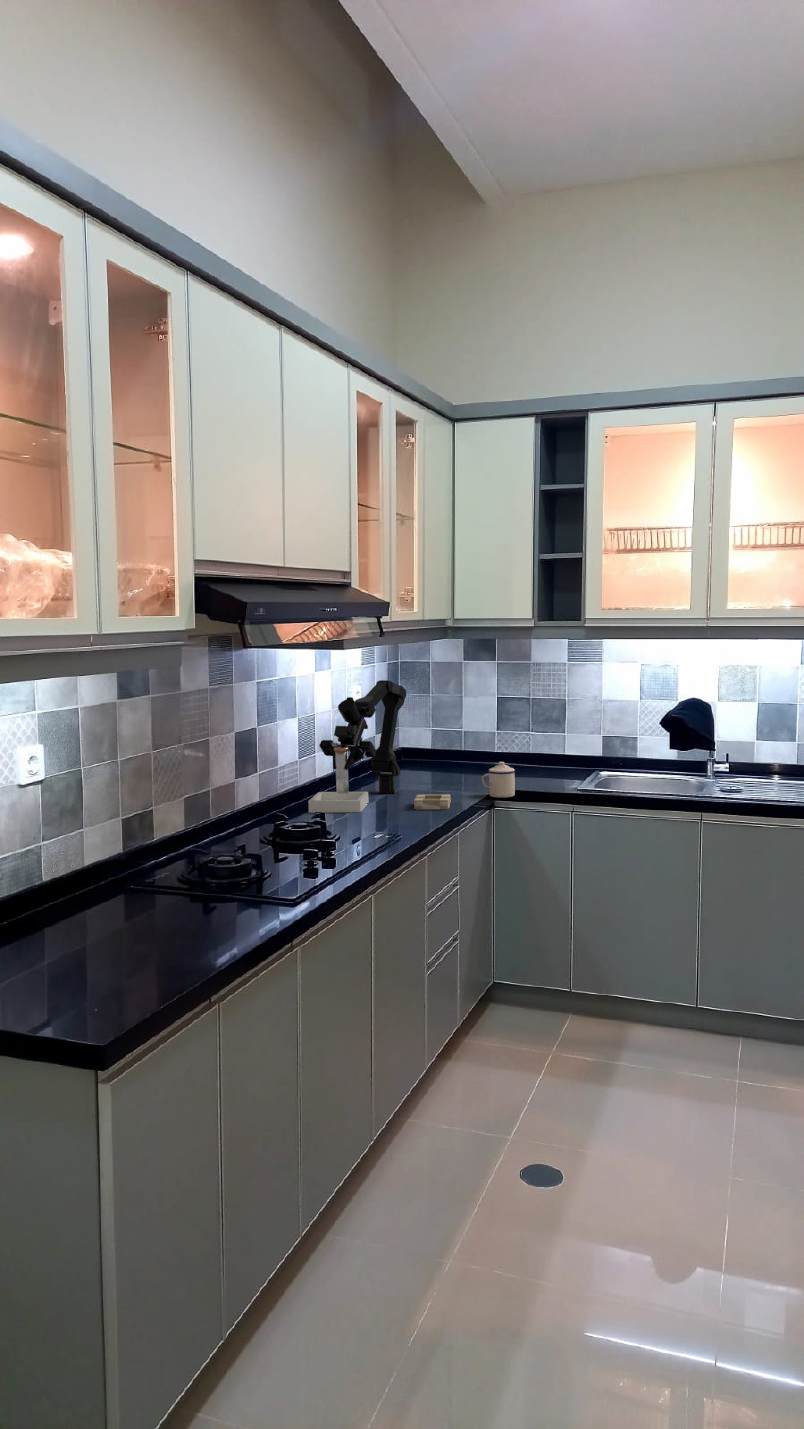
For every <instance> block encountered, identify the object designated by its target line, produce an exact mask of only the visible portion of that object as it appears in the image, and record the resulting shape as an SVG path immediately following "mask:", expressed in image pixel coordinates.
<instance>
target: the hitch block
mask: <svg viewBox="0 0 804 1429" xmlns="http://www.w3.org/2000/svg"><path fill="white" fill-rule="evenodd" d="M413 801H414V802H413V804H414V806H413V807H414V808H413V809H416V811H417V810H449V808H450V807H451V806H450V805H451V804H450V803H451V794H449V793H444V794H439V793H438V794H436V793H435V794H426V793H425V794H417V795H416V796H415V798H414V800H413Z"/></svg>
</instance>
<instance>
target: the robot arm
mask: <svg viewBox="0 0 804 1429" xmlns="http://www.w3.org/2000/svg"><path fill="white" fill-rule="evenodd" d="M406 697H407V690H406V688H404V687H403V685H400V684H397V683H394V682H393V681H391V680H387V679H386V680H384V679H381V680H377V681H376V684H375V685H374V686H373V687H372V688H371V689H370V691H368V693H367V694H366V695H365V696H363V697H359V698H357V699H356V700H354V698H353V697H351V696H348V697H346V699H344V700H342V701H341V702H340V703H339V704H338V706H337V710H338V712H339V713H340V715H341V717H342V719H343V720H344V722H346V723H347V725H335V729H334V733H333V736H335V737H337V741H338V742H334V740H332V739H322V740H321V741H320V742H319V745H318V746H319V748H320V750H321V751H322V752H323V755H324V756H326V757H332V769H333V770H336V762H335V751H334V747H341V746H345V747H348V749H349V750H348V751H347V752H349V755H348V760H347V762H346V765H345V769H346V770H347V769H348V770H349V769H350V768H351V767H352V766H354V765H355V764H356V763H358V762H359V761H360V760H364V758H365V757H366V758H371V760H370V767H371V772H372V776H376V777H378V778H377V779H378V780H377V781H378V790H377V791H376V794H395V793H396V792H397V791H398V790H397V789H396V787H395V783H396V782H395V777H399V776H400V774H401V768H400V766H399V764H398V762H397V761H396V759H397V757H396V754H395V751H394V748H393V747H394V743H395V742H394V741H395V735H396V727H397V722H398V716H399V715H398V714H399V710H401V708H402V707H403V706H404V704H405V700H406ZM380 702H382V704H383V706H384V713H383V719H382V727H381V732H380V738H379V746H378V747H377V748H375V746H374V744H373V742H372V741H371V740H364V739H363V737H362V736H363V733H364V730H368V729H369V726H368V723H367V720H366V719H368V718H369V719H370V718H372V717H373V716H374V715H375V713H376V712H377V710H376V707H377V705H378V704H379V703H380ZM365 718H366V719H365ZM364 755H365V756H364Z"/></svg>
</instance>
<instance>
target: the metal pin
mask: <svg viewBox="0 0 804 1429" xmlns="http://www.w3.org/2000/svg"><path fill="white" fill-rule="evenodd" d="M348 750H349V749H348V747H345V746H341V747H334V751H335V762H336V769H335V782H336V783H335V784H336V786H335V787H336V789H335V790H336V792H337V793H338V794H346V793H349V792H350V789H349V786H350V785H349V769H347V770H346V769H345V765H346V762H347V760H348V757H349V755H348V752H349V751H348Z"/></svg>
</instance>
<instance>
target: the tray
mask: <svg viewBox="0 0 804 1429" xmlns="http://www.w3.org/2000/svg"><path fill="white" fill-rule="evenodd" d="M367 803H368V804H369V791H349V793H346V794H338V793H337V791H319V792H317V793H316V794H315V795H313V797H311V798H310V799H309V800H308V813H315V812H322V813H361V812H362V811H363V810H364V809H365V808H366V806H368V804H367Z"/></svg>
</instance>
